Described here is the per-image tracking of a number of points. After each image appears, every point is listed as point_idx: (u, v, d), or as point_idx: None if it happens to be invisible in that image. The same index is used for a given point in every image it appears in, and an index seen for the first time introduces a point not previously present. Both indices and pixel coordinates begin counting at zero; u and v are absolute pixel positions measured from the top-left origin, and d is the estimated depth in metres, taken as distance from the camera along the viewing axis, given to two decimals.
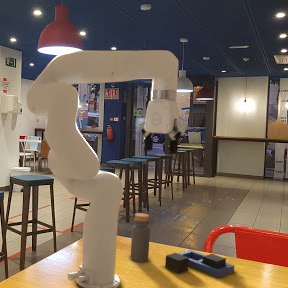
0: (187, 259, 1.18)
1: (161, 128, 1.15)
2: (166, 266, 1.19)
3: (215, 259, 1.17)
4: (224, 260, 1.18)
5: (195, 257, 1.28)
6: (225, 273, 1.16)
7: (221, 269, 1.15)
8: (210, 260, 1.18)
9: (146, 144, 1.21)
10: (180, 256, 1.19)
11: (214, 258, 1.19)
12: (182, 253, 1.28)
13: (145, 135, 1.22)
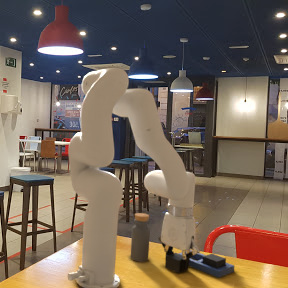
0: None
1: (178, 244, 1.15)
2: (166, 266, 1.19)
3: (215, 259, 1.17)
4: (224, 260, 1.18)
5: (195, 257, 1.28)
6: (225, 273, 1.16)
7: (221, 269, 1.15)
8: (210, 260, 1.18)
9: None
10: (180, 256, 1.19)
11: (214, 258, 1.19)
12: None
13: (166, 249, 1.21)
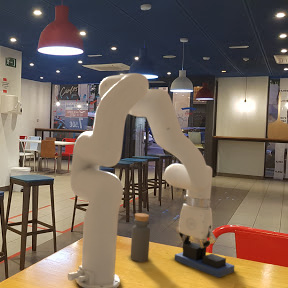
0: None
1: (196, 234, 1.21)
2: (184, 254, 1.25)
3: (215, 259, 1.17)
4: (224, 260, 1.18)
5: None
6: (225, 273, 1.16)
7: (221, 269, 1.15)
8: (210, 260, 1.18)
9: None
10: (197, 245, 1.25)
11: (214, 258, 1.19)
12: (182, 253, 1.28)
13: (183, 239, 1.27)
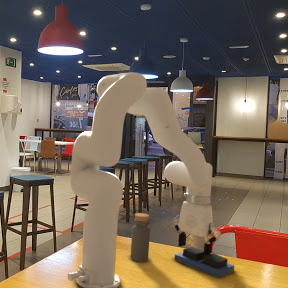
0: (203, 253, 1.24)
1: (196, 231, 1.21)
2: None
3: (217, 260, 1.17)
4: (226, 261, 1.18)
5: None
6: (225, 273, 1.16)
7: (221, 269, 1.15)
8: (212, 260, 1.17)
9: (180, 241, 1.28)
10: (197, 250, 1.25)
11: (216, 258, 1.18)
12: (182, 253, 1.28)
13: (179, 232, 1.28)
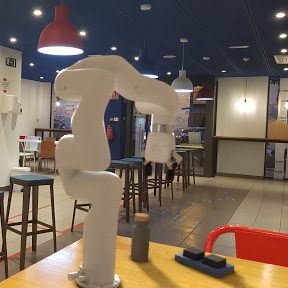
0: (203, 253, 1.24)
1: (159, 158, 1.28)
2: None
3: (216, 260, 1.17)
4: (225, 260, 1.18)
5: None
6: (225, 273, 1.16)
7: (221, 269, 1.15)
8: (211, 260, 1.18)
9: (146, 171, 1.35)
10: (197, 250, 1.25)
11: (215, 258, 1.18)
12: (182, 253, 1.28)
13: (145, 163, 1.35)
